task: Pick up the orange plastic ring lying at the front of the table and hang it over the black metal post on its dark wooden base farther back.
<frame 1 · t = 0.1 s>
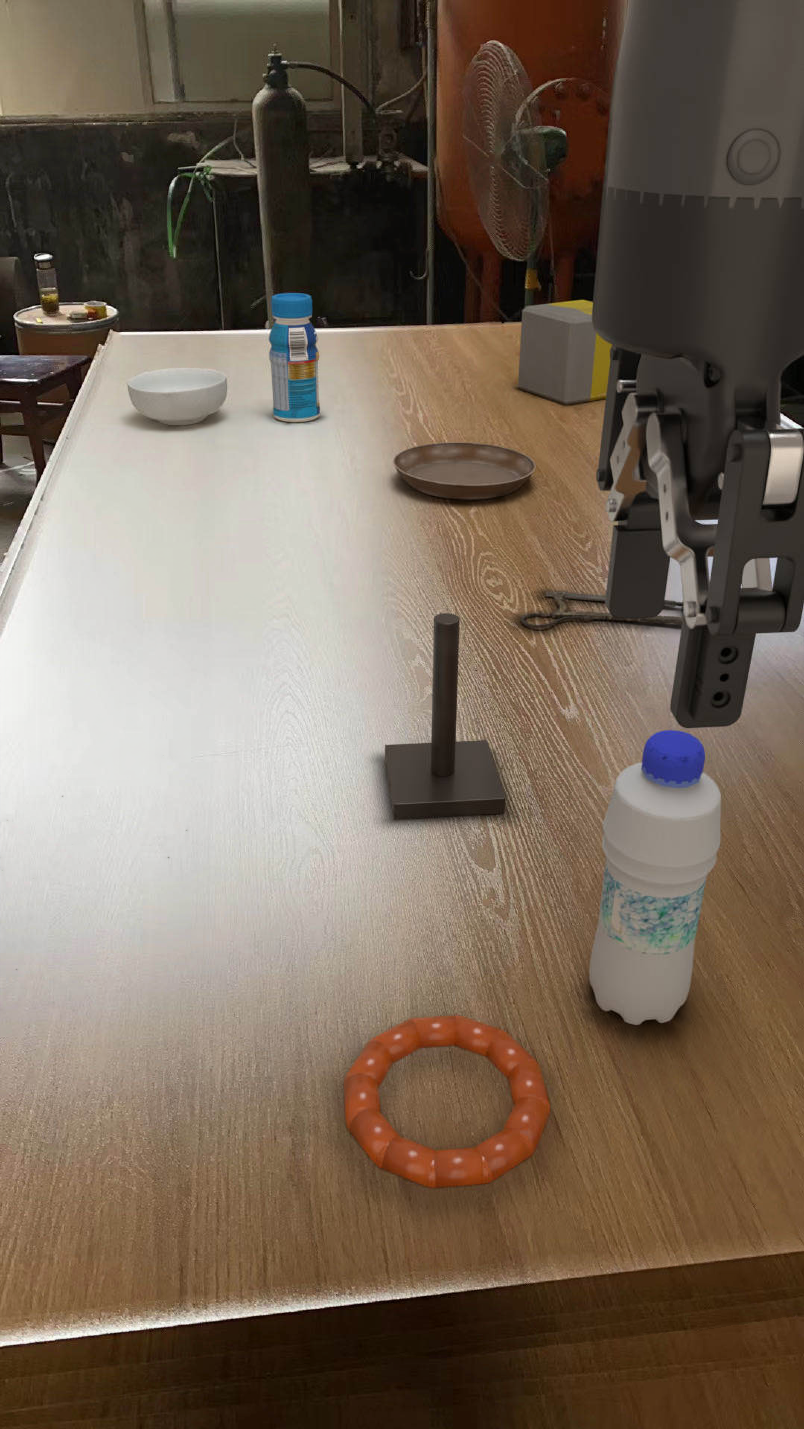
hand: (664, 663, 40), 33 cm above the table, tool pointing down, fingers open, 8 cm apart
plant saucer: (463, 484, 160), on the table
ring: (445, 1096, 62), point 1 cm above the table
beverage bottle: (296, 418, 190), on the table
emergency stop button: (590, 390, 208), on the table
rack: (442, 785, 92), on the table
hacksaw: (634, 622, 119), on the table
bottle: (635, 1003, 70), on the table
cereal bowl: (181, 420, 189), on the table
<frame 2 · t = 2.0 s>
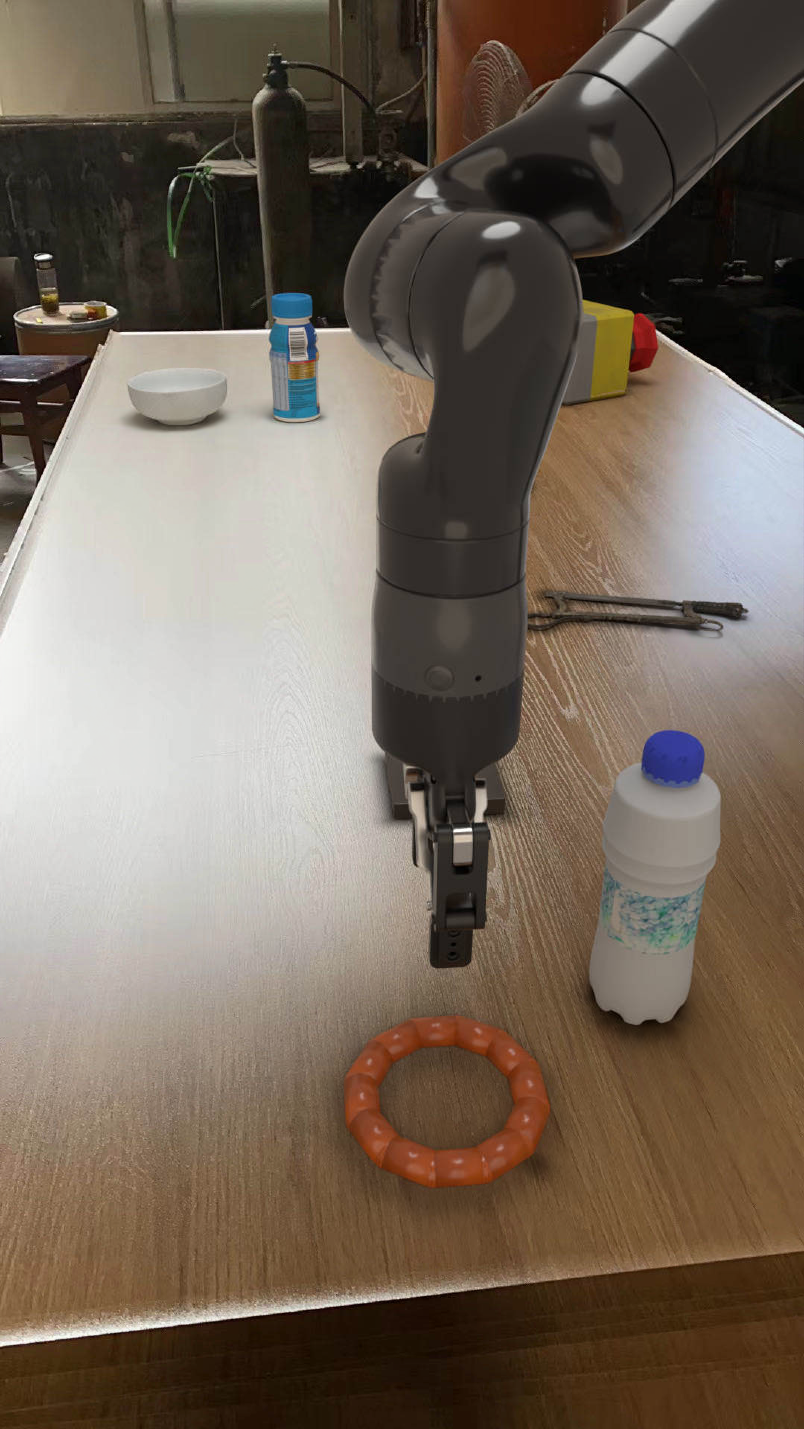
hand: (439, 910, 61), 11 cm above the table, tool pointing down, fingers open, 8 cm apart
nothing on the table moved.
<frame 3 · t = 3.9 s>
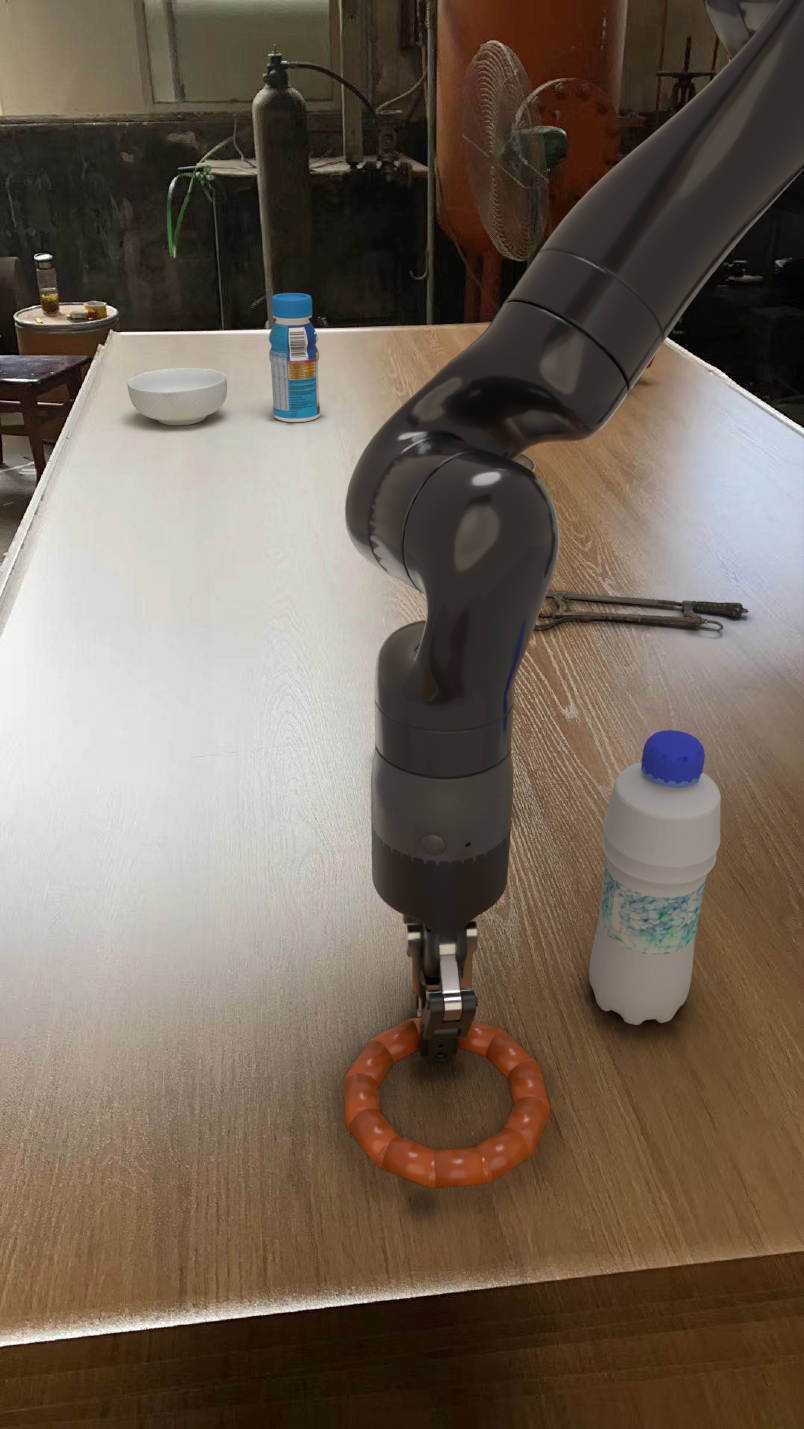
hand: (435, 1041, 67), 0 cm above the table, tool pointing down, fingers closed on ring, 2 cm apart
ring: (445, 1096, 62), point 1 cm above the table, touching gripper
everything else where it was.
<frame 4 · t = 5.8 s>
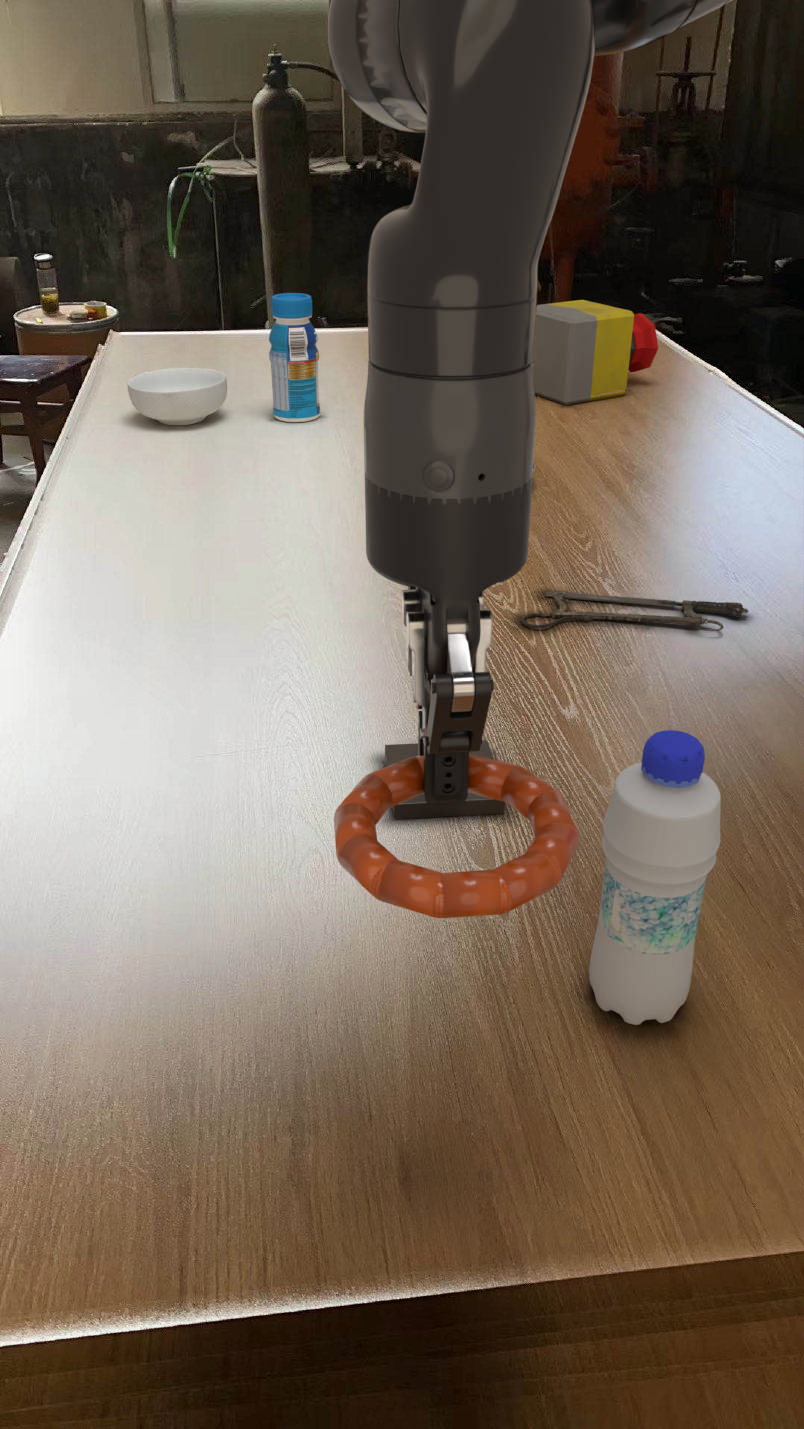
hand: (442, 784, 57), 19 cm above the table, tool pointing down, fingers closed on ring
ring: (454, 829, 53), point 20 cm above the table, touching gripper
everything else where it was.
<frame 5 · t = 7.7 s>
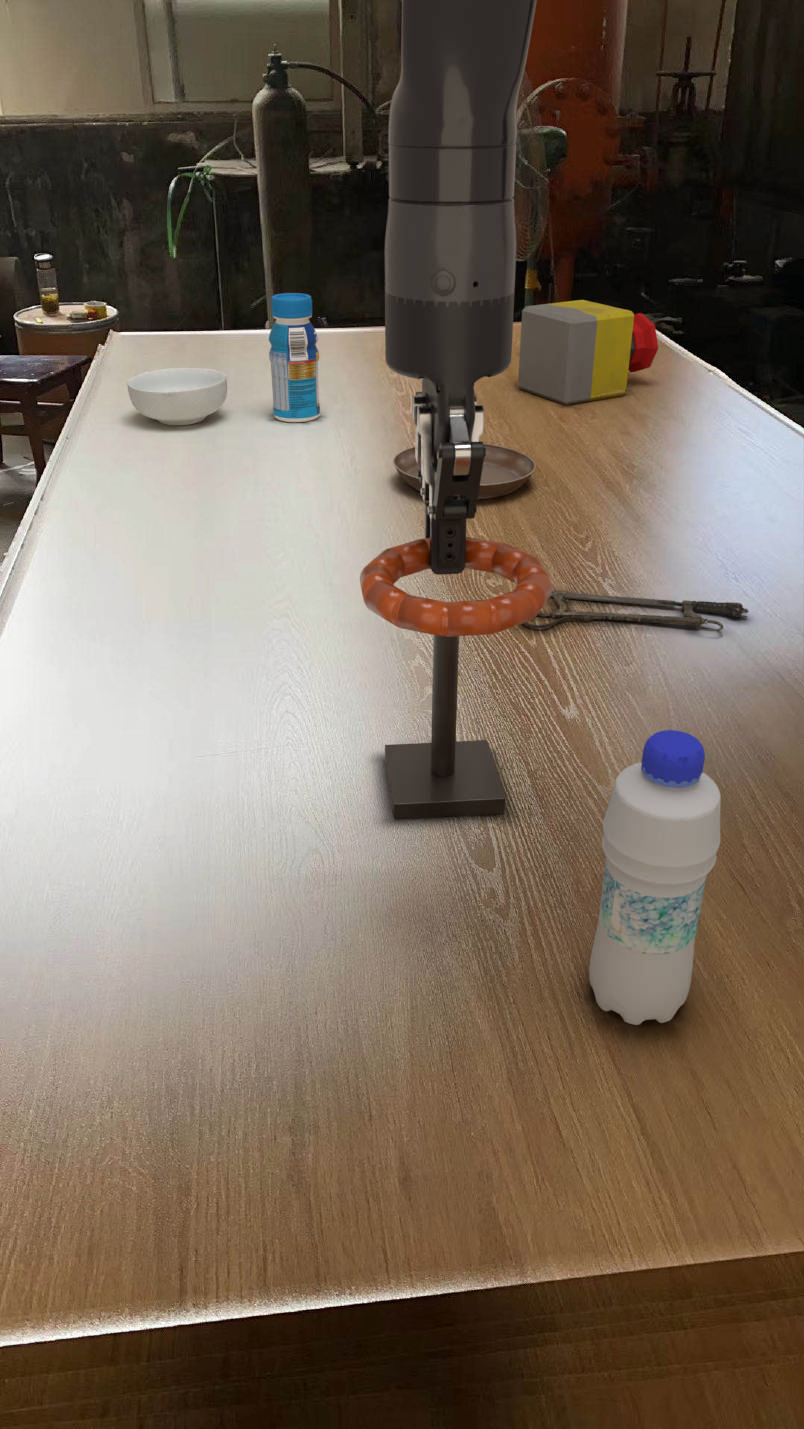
hand: (444, 563, 72), 24 cm above the table, tool pointing down, fingers closed on ring
ring: (455, 583, 67), point 24 cm above the table, touching gripper
everything else where it was.
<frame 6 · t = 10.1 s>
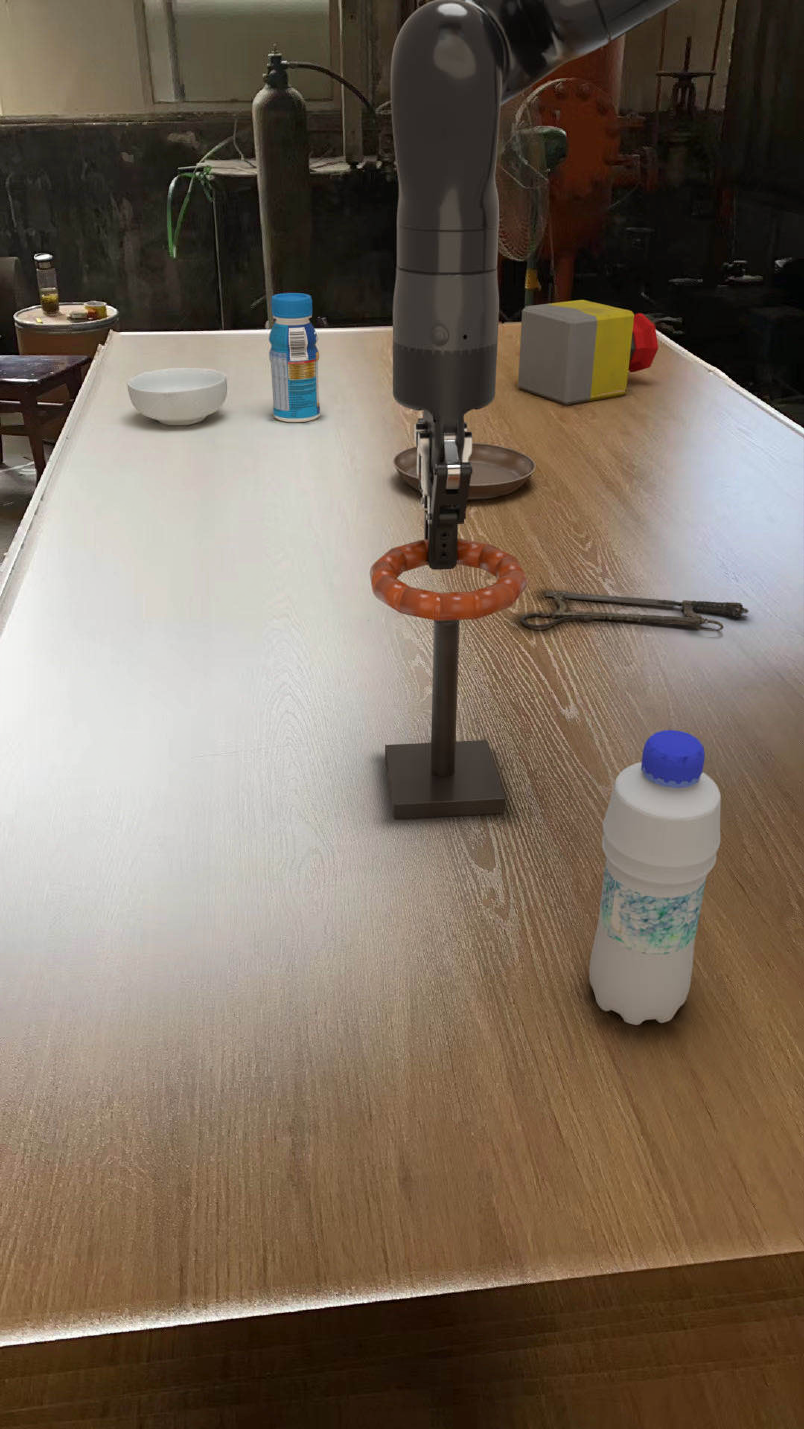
hand: (439, 560, 86), 18 cm above the table, tool pointing down, fingers closed on ring
ring: (447, 577, 82), point 19 cm above the table, touching gripper
everything else where it was.
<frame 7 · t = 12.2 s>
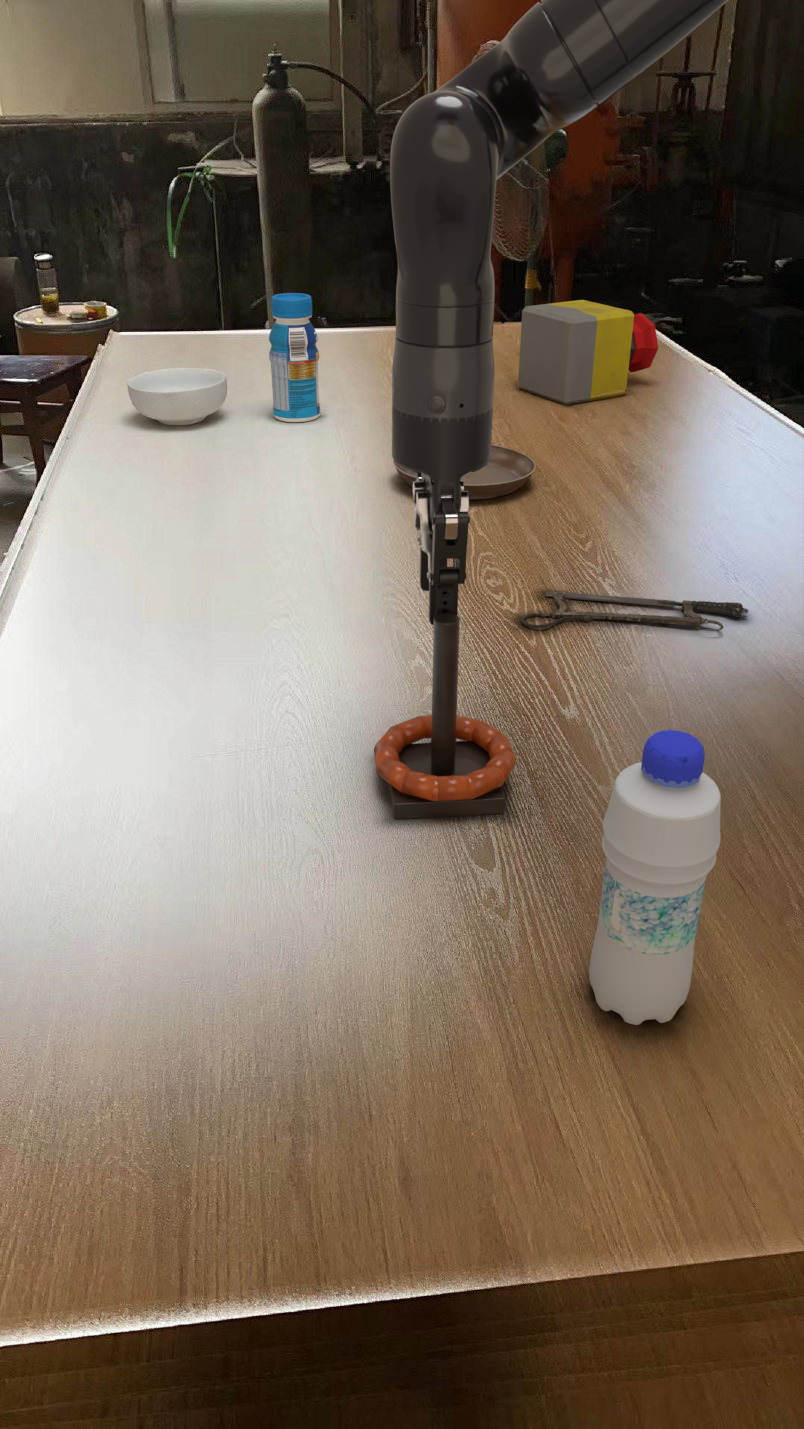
hand: (437, 604, 89), 14 cm above the table, tool pointing down, fingers open, 6 cm apart
ring: (444, 755, 91), point 2 cm above the table, touching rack
everything else where it was.
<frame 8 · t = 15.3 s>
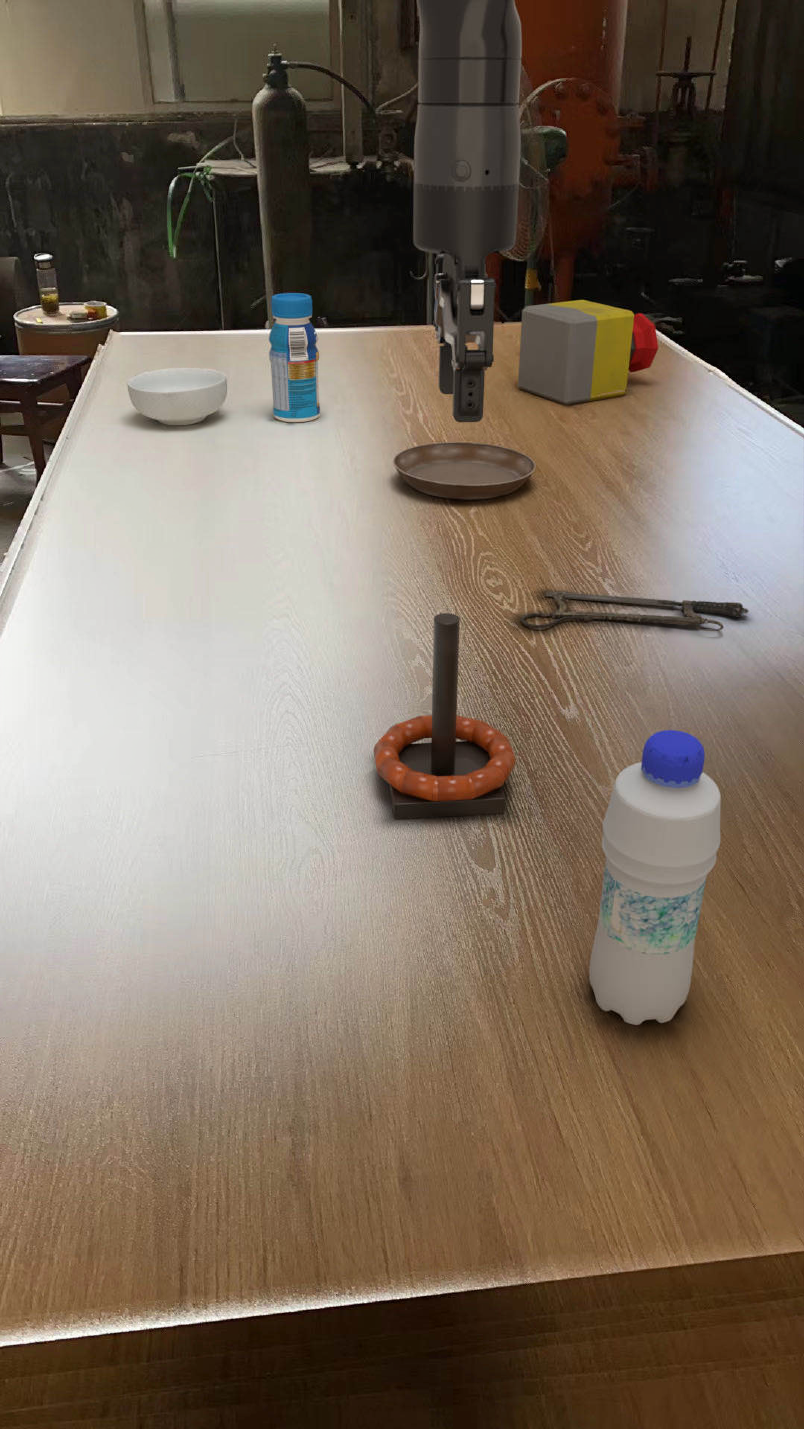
hand: (459, 406, 86), 29 cm above the table, tool pointing down, fingers open, 8 cm apart
nothing on the table moved.
at the end: ring 0.7 cm from the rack (horizontally); ring point 2.5 cm above the table; the gripper is holding nothing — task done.
